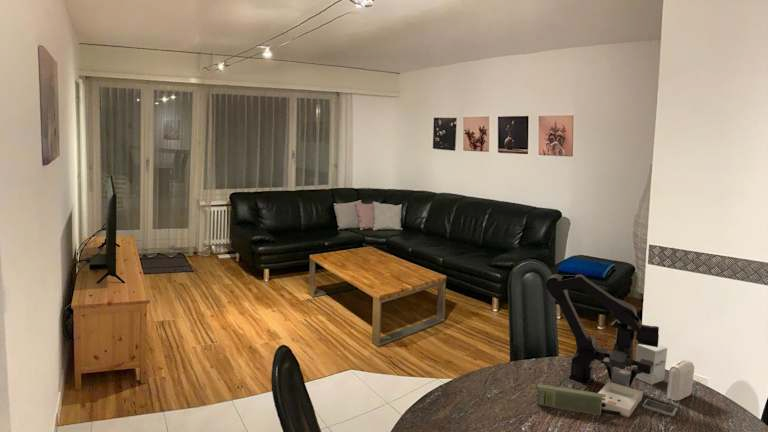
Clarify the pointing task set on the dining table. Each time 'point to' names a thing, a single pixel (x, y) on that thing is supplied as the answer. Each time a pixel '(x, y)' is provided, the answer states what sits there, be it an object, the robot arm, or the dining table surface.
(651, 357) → the supplement box
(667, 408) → the phone slab
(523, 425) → the dining table surface
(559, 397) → the handheld radio
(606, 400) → the white grey flat device
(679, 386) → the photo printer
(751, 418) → the dining table surface
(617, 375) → the block
